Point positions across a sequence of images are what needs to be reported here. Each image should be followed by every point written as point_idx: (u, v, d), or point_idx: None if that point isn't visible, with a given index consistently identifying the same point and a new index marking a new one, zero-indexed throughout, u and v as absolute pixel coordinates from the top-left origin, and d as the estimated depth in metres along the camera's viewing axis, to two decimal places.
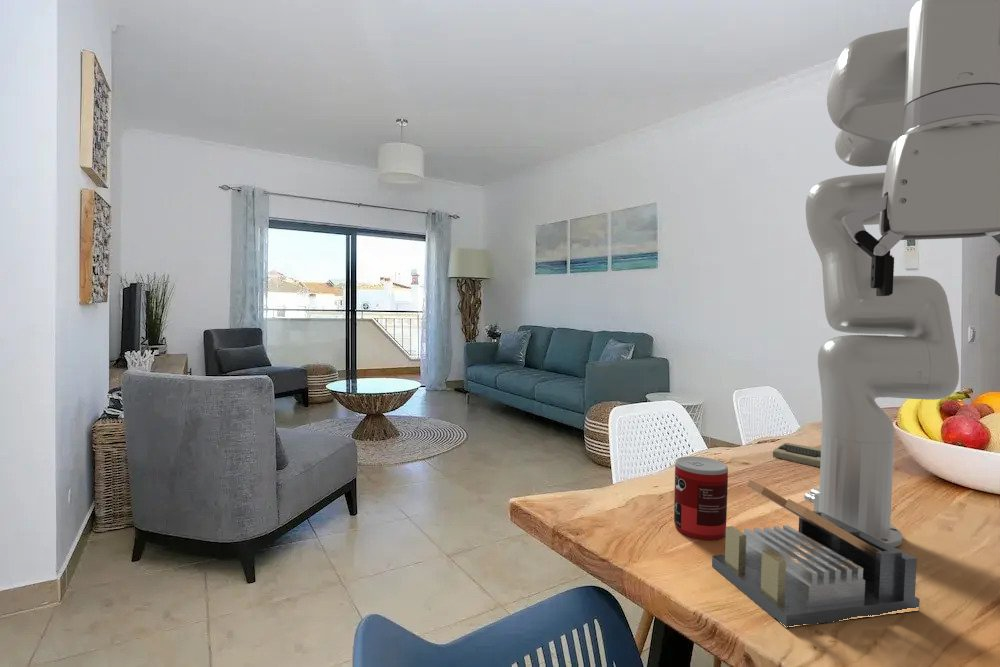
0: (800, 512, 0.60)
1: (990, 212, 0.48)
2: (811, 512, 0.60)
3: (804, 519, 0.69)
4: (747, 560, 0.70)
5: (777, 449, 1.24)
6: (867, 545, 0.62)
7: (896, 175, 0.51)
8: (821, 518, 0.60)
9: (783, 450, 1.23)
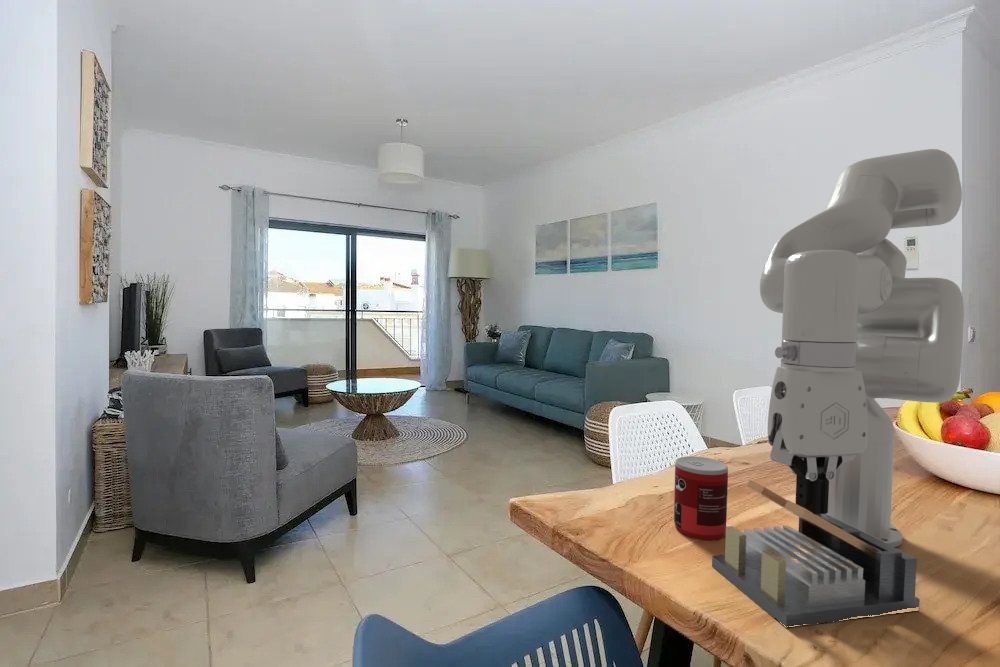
0: (799, 513, 0.60)
1: None
2: (810, 513, 0.60)
3: (804, 519, 0.69)
4: (747, 560, 0.70)
5: None
6: (867, 545, 0.62)
7: None
8: (820, 519, 0.60)
9: None
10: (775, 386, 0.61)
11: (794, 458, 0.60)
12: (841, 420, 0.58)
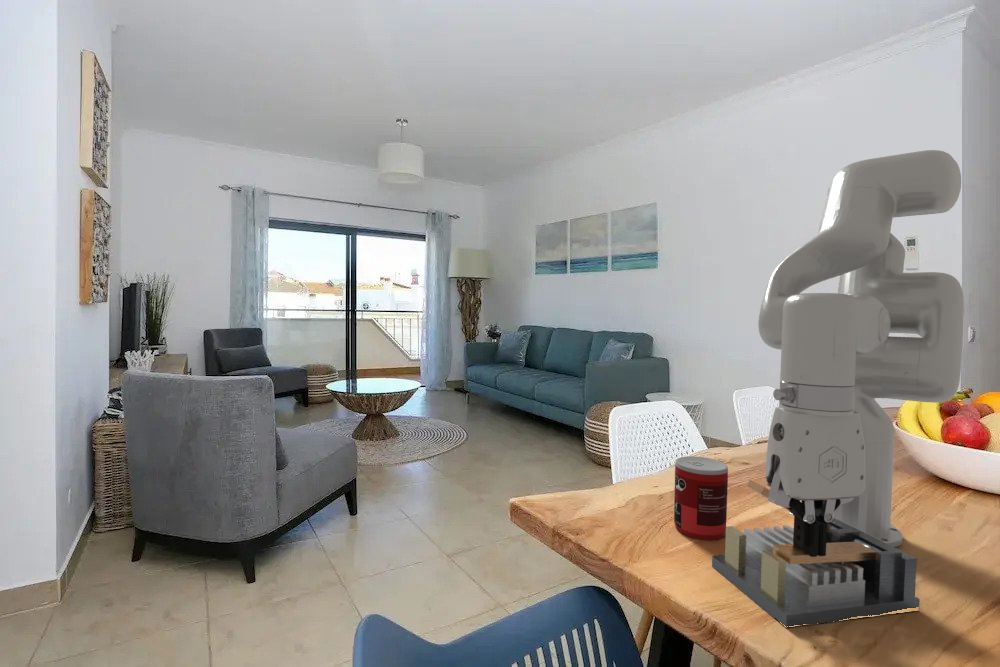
0: (787, 560, 0.60)
1: None
2: (797, 557, 0.60)
3: None
4: (747, 560, 0.70)
5: None
6: (863, 554, 0.62)
7: None
8: (809, 556, 0.60)
9: None
10: (773, 427, 0.61)
11: (792, 500, 0.60)
12: (839, 463, 0.58)
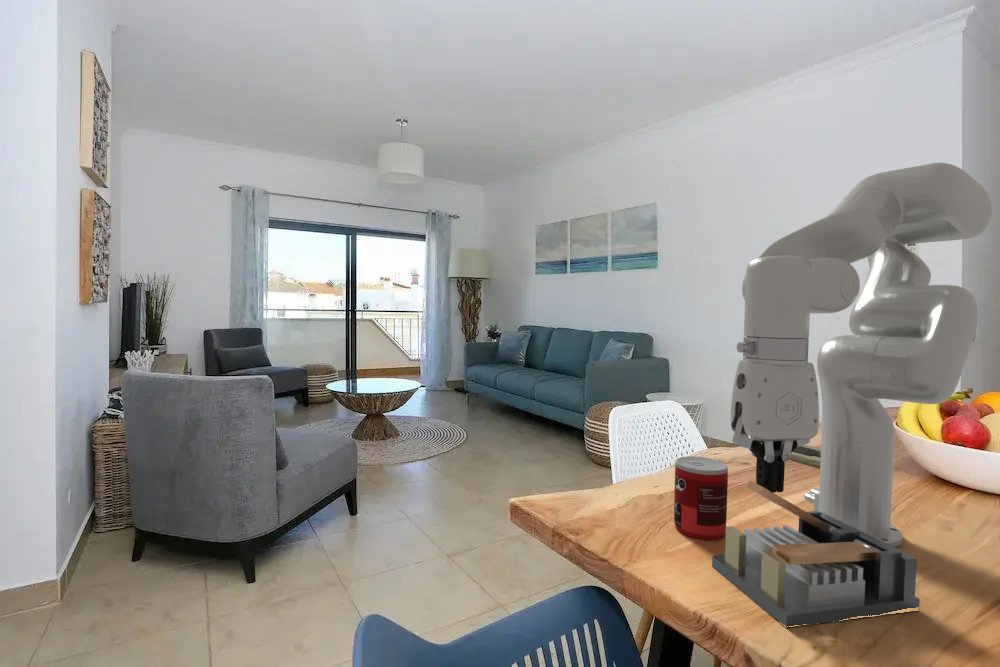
0: (787, 561, 0.60)
1: None
2: (797, 557, 0.60)
3: None
4: (747, 560, 0.70)
5: None
6: (863, 554, 0.62)
7: None
8: (809, 557, 0.60)
9: None
10: (737, 377, 0.68)
11: (753, 442, 0.67)
12: (794, 408, 0.65)
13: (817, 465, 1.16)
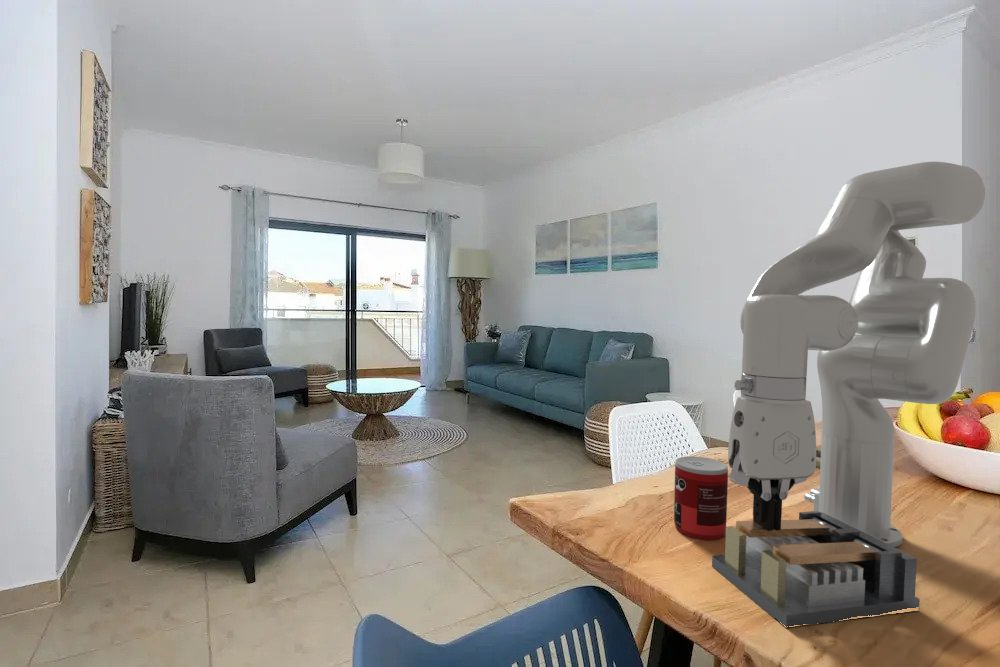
0: (787, 561, 0.60)
1: None
2: (797, 557, 0.60)
3: None
4: (747, 560, 0.70)
5: None
6: (863, 554, 0.62)
7: None
8: (809, 557, 0.60)
9: None
10: (735, 415, 0.68)
11: (750, 480, 0.67)
12: (792, 447, 0.65)
13: None
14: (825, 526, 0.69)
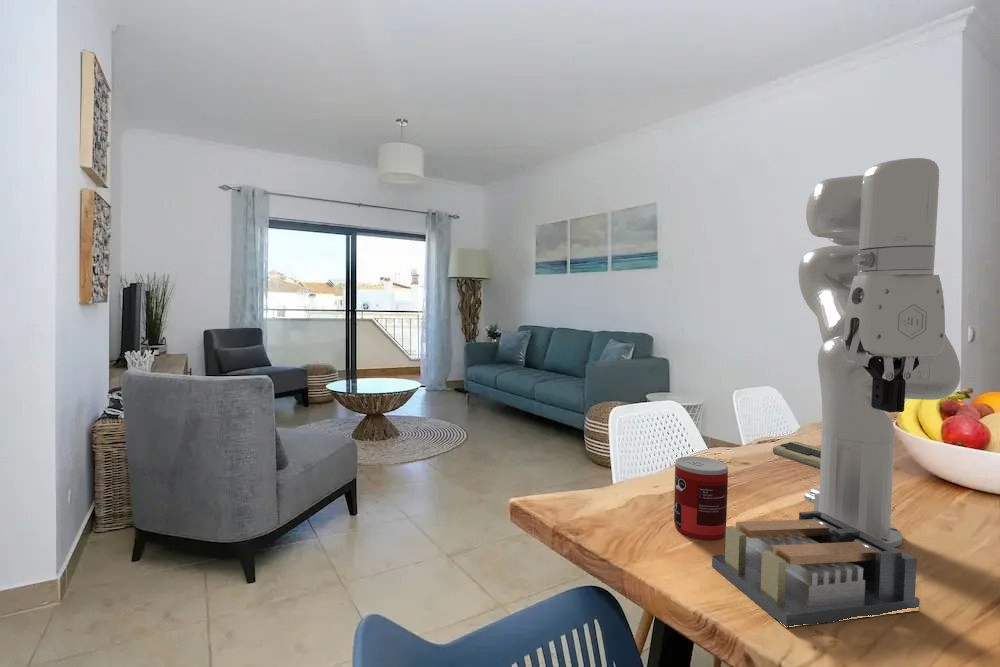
0: (787, 561, 0.60)
1: None
2: (797, 557, 0.60)
3: None
4: (747, 560, 0.70)
5: (778, 446, 1.27)
6: (863, 554, 0.62)
7: None
8: (809, 557, 0.60)
9: (783, 447, 1.26)
10: (852, 293, 0.65)
11: (871, 359, 0.64)
12: (918, 321, 0.62)
13: (813, 464, 1.17)
14: (825, 526, 0.69)
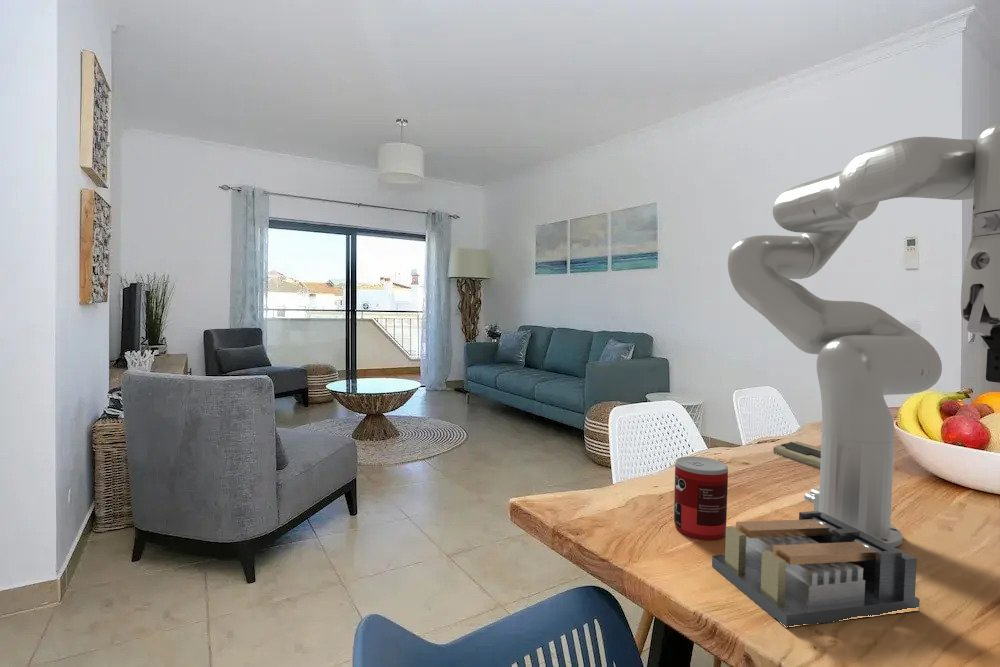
0: (787, 561, 0.60)
1: None
2: (797, 557, 0.60)
3: None
4: (747, 560, 0.70)
5: (779, 445, 1.28)
6: (863, 554, 0.62)
7: None
8: (809, 557, 0.60)
9: (783, 447, 1.26)
10: (971, 259, 0.61)
11: (993, 328, 0.60)
12: None
13: (811, 464, 1.17)
14: (825, 526, 0.69)
